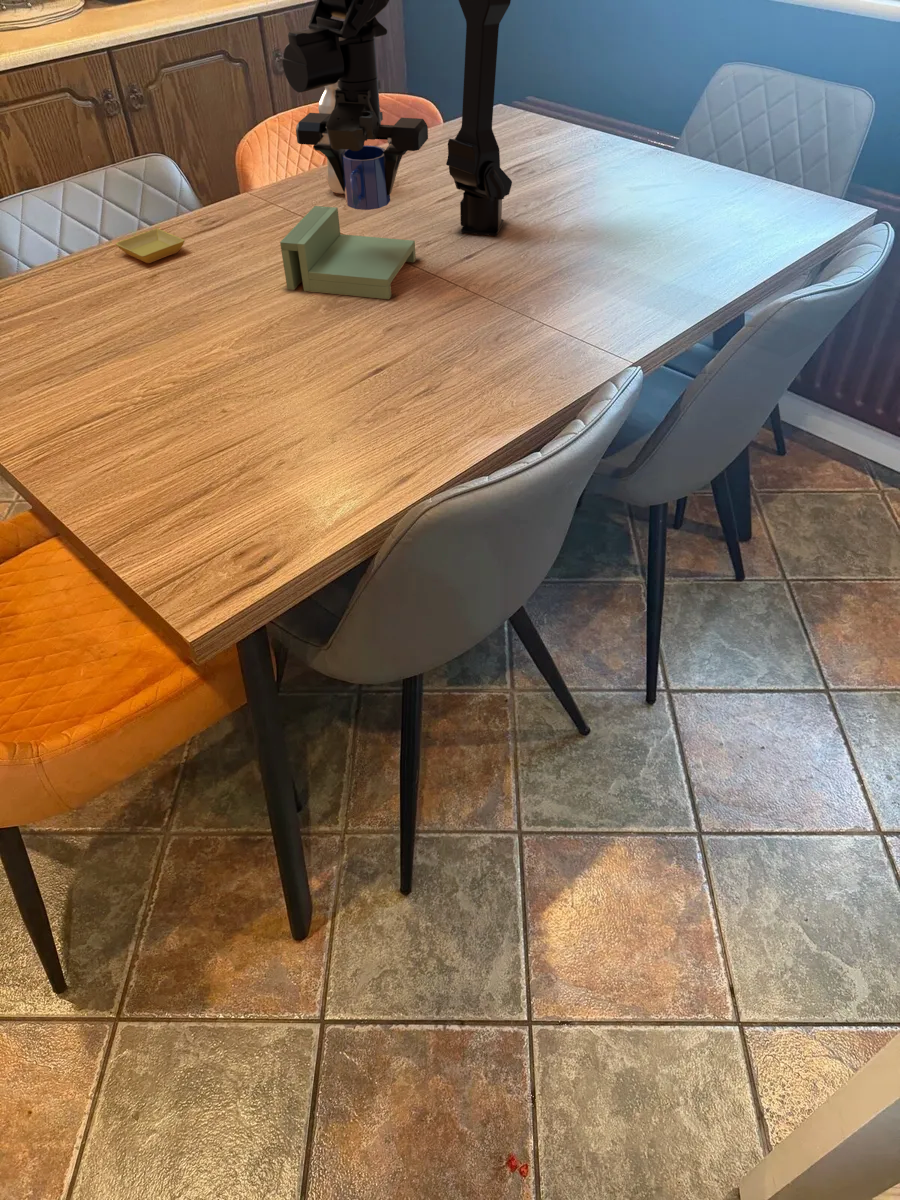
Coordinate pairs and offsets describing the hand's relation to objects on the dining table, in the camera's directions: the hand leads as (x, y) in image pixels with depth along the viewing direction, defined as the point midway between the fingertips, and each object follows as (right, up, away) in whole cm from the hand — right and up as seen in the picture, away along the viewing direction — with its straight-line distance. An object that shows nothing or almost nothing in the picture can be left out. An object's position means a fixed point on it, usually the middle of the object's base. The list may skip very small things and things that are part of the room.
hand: (367, 192), depth 132 cm
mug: (0, -2, 0) cm, 2 cm away
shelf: (-3, -9, +8) cm, 13 cm away
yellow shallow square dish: (-38, -3, +16) cm, 41 cm away
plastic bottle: (-8, +16, +34) cm, 39 cm away
